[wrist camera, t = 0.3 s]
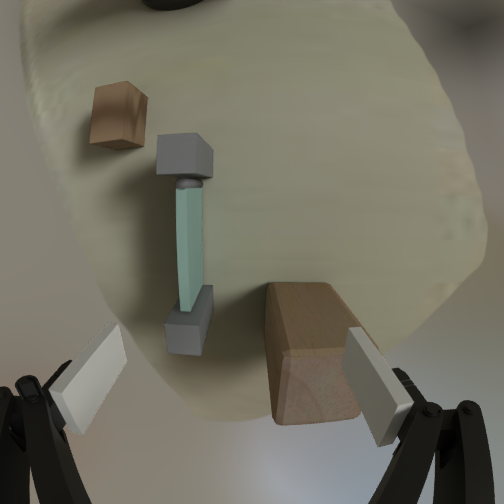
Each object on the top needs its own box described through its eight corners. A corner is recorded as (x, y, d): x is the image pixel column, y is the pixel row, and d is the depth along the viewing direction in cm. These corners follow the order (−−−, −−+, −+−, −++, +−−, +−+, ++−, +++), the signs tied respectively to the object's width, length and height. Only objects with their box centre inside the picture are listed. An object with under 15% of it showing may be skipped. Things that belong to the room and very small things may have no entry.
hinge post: (185, 150, 37) (157, 135, 25) (213, 149, 37) (196, 132, 25) (185, 177, 38) (156, 174, 26) (212, 177, 38) (195, 172, 26)
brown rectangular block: (119, 101, 35) (95, 87, 27) (147, 97, 35) (127, 80, 28) (115, 149, 37) (89, 143, 29) (144, 146, 37) (122, 138, 29)
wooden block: (263, 337, 44) (272, 429, 25) (266, 280, 42) (280, 355, 22) (322, 336, 44) (361, 420, 25) (330, 280, 42) (385, 349, 23)
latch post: (187, 284, 42) (164, 323, 29) (212, 285, 42) (199, 325, 29) (188, 308, 43) (167, 353, 30) (213, 309, 43) (201, 355, 30)
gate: (193, 179, 38) (175, 177, 28) (203, 179, 38) (187, 177, 28) (194, 282, 41) (179, 311, 32) (203, 283, 41) (191, 311, 32)
